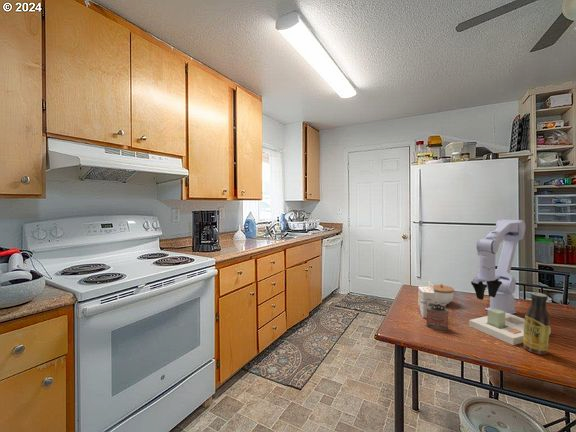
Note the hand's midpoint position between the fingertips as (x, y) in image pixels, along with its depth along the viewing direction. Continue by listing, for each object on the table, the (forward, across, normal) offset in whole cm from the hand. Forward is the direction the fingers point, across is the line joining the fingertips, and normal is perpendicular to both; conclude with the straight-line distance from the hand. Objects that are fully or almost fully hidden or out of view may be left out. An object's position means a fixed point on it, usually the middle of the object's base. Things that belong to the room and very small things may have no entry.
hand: (486, 297), depth 115 cm
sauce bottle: (+10, +10, +23) cm, 27 cm away
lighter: (+10, +26, -2) cm, 28 cm away
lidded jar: (+10, +1, -21) cm, 23 cm away
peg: (+9, +7, +9) cm, 15 cm away
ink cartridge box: (+10, +20, -13) cm, 26 cm away
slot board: (+9, +2, +10) cm, 14 cm away
